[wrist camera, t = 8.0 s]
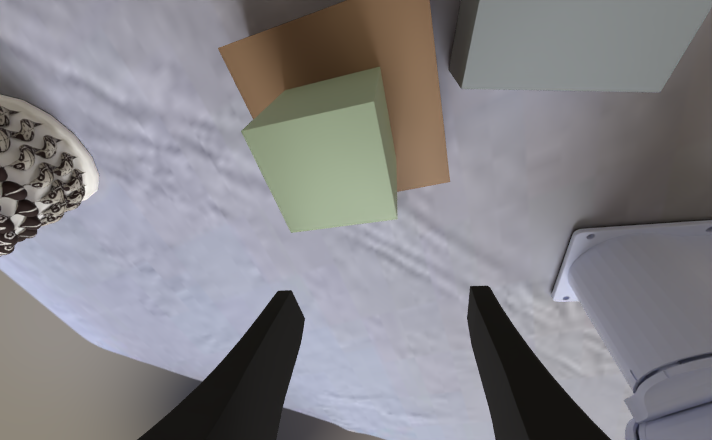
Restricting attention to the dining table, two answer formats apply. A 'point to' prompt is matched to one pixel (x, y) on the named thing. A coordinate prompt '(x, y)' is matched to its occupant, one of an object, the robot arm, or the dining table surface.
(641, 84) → the slate block
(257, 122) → the sage block
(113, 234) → the dining table surface
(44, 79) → the dining table surface
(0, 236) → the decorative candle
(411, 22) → the walnut block
